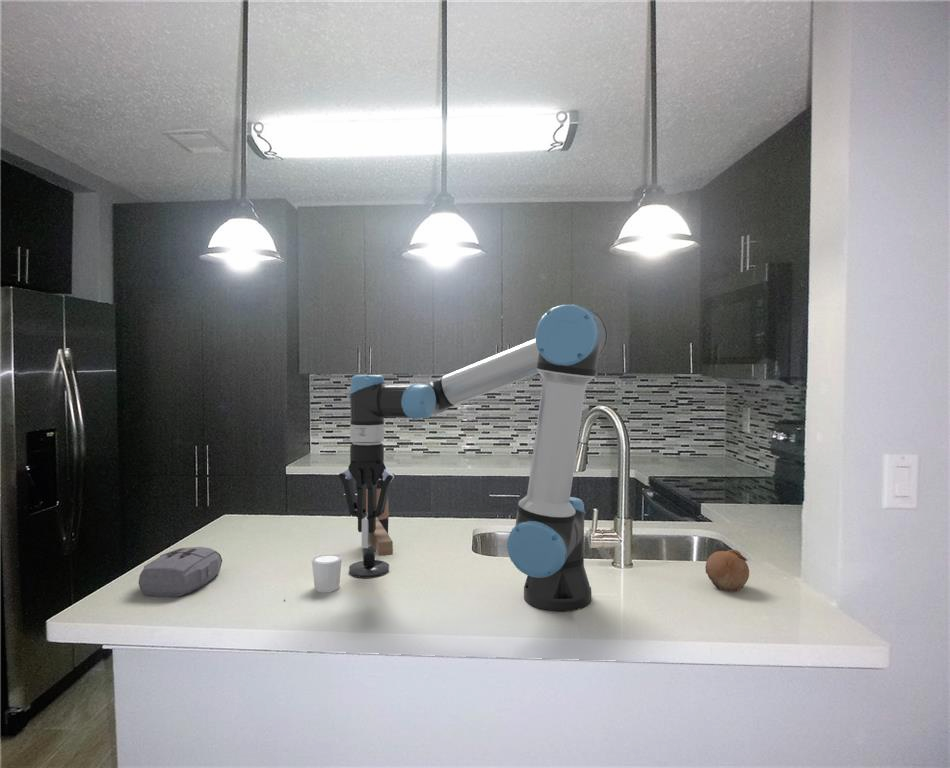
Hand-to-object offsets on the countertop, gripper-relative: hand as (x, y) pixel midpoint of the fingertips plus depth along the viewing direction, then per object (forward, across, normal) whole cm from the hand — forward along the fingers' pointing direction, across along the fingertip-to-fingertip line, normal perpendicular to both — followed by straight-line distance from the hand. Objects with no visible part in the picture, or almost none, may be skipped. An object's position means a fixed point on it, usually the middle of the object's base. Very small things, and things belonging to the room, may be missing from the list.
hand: (366, 546), depth 140 cm
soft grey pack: (+12, -46, 0) cm, 48 cm away
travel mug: (+11, -11, +36) cm, 39 cm away
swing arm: (0, 0, +6) cm, 6 cm away
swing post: (+11, -6, +16) cm, 20 cm away
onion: (+11, +81, +21) cm, 85 cm away
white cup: (+12, -11, +3) cm, 16 cm away
